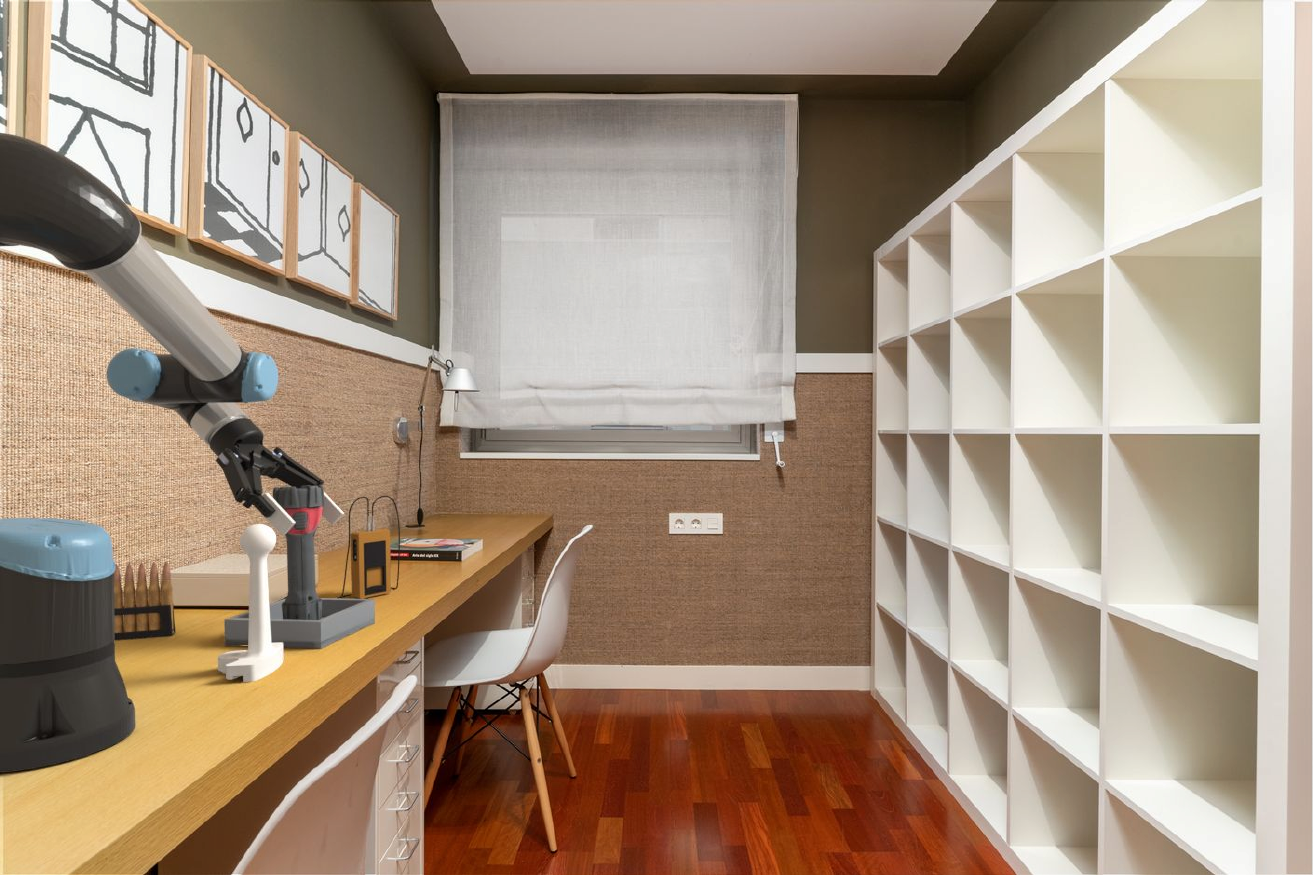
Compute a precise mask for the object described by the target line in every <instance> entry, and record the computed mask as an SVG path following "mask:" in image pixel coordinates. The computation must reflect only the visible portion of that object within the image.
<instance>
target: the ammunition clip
mask: <svg viewBox="0 0 1313 875" xmlns="http://www.w3.org/2000/svg"><path fill="white" fill-rule="evenodd" d="M169 565H170V564H169V563H168V561H165V562H164V564H163V567H162V573H161V586H160V581H159V580H160V578H159V571H158V566H157V564H156V561H154V562H152V563H151V566H150V570H149V580H148V581H149V584H148V583H147V574H146V573H147V571H146V569H145V566H144V563H143V562H141V563H140V564H139V565H138V570H137V575H136V576H137V578H136V588H135V581H134V579H135V577H134V571H133V567H132V565H131V563H127V565H126V568H125V572H124V585H123V586H124V587H122V578H121V577H122V576H121V571H120V568H119V566H118V564H117V563H115V571H114V635H115V639H114V642H116V641H126V640H127V641H128V640H129V641H130V640H140V639H155V638H166V637H173V635H175V634H176V632H177V631H176V619H175V607H174V601H173V600H174V599H173V598H174V596H173V590H174V589H173V585H172V578H171V574H172V573H171V567H170V566H169Z"/></svg>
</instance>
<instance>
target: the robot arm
mask: <svg viewBox="0 0 1313 875" xmlns="http://www.w3.org/2000/svg"><path fill="white" fill-rule="evenodd" d="M16 246H21V247H22V246H23V247H28V248H32V249H37V250H40V251H42V252H46V253H47V254H50V255H52V256H53V257H54V258H55V259H56V260H57V261H59V263H60V264H61V265H63V266H64V267H66V268H67V269H69V270H71V271H75V272H80V273H85V275H87V276H88V277H89V279H91V280H92V281H93V282H94V283H96V285H97V286H98V287H99V288H100V289H101V290H103V291H104V292H105V293H106V294H107V295H108V296H109V297H110V298H111V299H112V300H113V301H115V303H116V304H118V306H120V307H121V308H122V309H123V310H124V311H125V312H126V313H127V314H128V315H129V316H130V317H131V318H132V319H133V320H134V321H135V322H137V323H138V324H139V325H140V327H142V328H143V330H145V331H146V332H147V333H148V334H149V335H150V336H152V338H153V339H155V341H156V342H158V343H159V344H160V345H161V346H162V348H164V349H165V350H166V351H167V352H168V353H154V352H152V351H150V350H149V349H140V348H135V347H133V348H132V347H131V348H126V349H123V350H121V351H119V352H117V353H116V354H115V355H114V356H113V357H112V358H111V360H110V361H109V362H108V364H107V368H106V381H107V383H108V386H109V388H110V389H111V390H112V391H113V392H114V393H115V394H117V395H118V396H121V397H124V398H126V399H127V400H130V401H132V402H140V403H144V404H148V405H152V406H155V407H159V408H163V409H166V410H167V409H168V410H172V411H173V412H176V413H177V414H178V415H179V417H180V418H182V420H183V421H184V422H186V424H187V425H188V426H189V427H190V428H191V429H192V430H193V431H194V432H195V433H196V434H197V435H198V438H199V439H200V440H201V441H203V443H205V444H206V445H208V446H209V448H210V450H211V451H212V452H213V453H214V454H215V455H216V457H217V458H216V459H215V462H216V463H217V464H218V466H219V467H220V468H221V470H222V471H223V475H224V477H225V478H226V481H227V484H228V486H229V488H230V490H231V493H232V495H233V498H234V500H235V501H236V502H237V503H238V504H242V506H243V507H244V508H246V509H250V508H251V507H252V506H254V508H255V509H257V511H258V512H259V513H260V514H261V515H262V517H264V518H265V520H266V521H268V522H269V524H270V525H271V526H272V527H273V528H274V530H276V531H277V532H278V533H279V534H280V535H281V537H283V536H285V534H286V533H287V532H288V531H289V530H290V529H291V528H292V527H293V526H294V524H295V523H296V522H295V521H294V520H293V519H292V518H291V517H290V516H289V515H288V514H287V512H286V511H285V510H284V509H283V508H282V507H281V506H280V505H279V504H278V503H277V502H276V501H275V500H274V499H273V495H271V494H270V493H269V492H264V491H263V485H262V477H261V476H264V477H268V478H270V479H271V480H273V479H277V480H279V481H281V482H282V483H284V484H286V485H288V486H289V487H296V488H301V486H305V485H310V486H317V485H322V486H323V485H324V484H325V481H324V480H323V479H322V478H320V477H319V476H317V475H316V474H315V473H314V472H312V471H311V470H309V469H308V468H307V467H305V466H303V465H302V464H301V463H299V462H298V461H297V460H295V459H294V458H292V457H291V456H289V455H288V454H287V453H286V452H285V451H284V450H283V449H282V448H281V447H279V446H275V447H274V449H273V450H270V449H268V448H267V447H266V446H264V437H265V436H264V433H263V431H262V430H261V429H260V428H259V427H258V426H257V425H256V424H255V422H253V420H252V419H250V418H248V415H247V414H246V412H244V411H243V409H241V408H240V407H239V405H237V403H238V404H239V403H243V404H248V403H259V402H266V401H268V400H271V399H272V398H273V397H274V396H275V394H276V391H277V388H278V384H279V372H278V371H279V370H278V366H277V365H276V362H275V361H274V359H273V357H271V356H270V355H269V354H267V353H264V352H255V351H250V352H245V350H244V349H243V348H242V347H241V346H240V345H239V344H238V342H237V341H235V339H234V338H233V337H232V336H231V335H230V334H229V333H228V331H227V330H226V329H225V328H224V327H223V325H221V323H219V321H218V320H217V319H216V318H215V317H214V315H213V314H212V313H211V312H210V311H209V310H208V309H207V307H206V306H205V305H204V304H203V302H201V301H200V300H199V299H198V298H197V296H195V294H194V293H193V292H192V291H191V290H190V288H189V287H188V286H187V285H186V284H185V283H184V282H183V281H182V279H180V277H179V276H178V275H177V274H176V273H175V272H174V270H172V268H171V267H170V266H169V265H168V264H167V263H166V261H164V259H163V258H162V257H161V256H160V255H159V254H158V253H157V252H156V250H155V249H154V247H152V245H151V244H149V243H148V241H147V240H146V239H145V238H144V237H143V236H142V224H141V222H140V219H139V218H138V217H137V215H136V214H135V213H134V212H133V210H131V209H130V207H129V206H128V205H127V204H126V202H124V200H122V198H120V196H119V195H118V194H116V193H115V191H113V190H112V189H111V188H110V187H109V186H107V185H106V184H105V183H104V182H102V181H101V179H99V178H97V177H96V176H95V175H94V174H92V173H91V172H90V171H88V170H87V169H86V168H84V167H83V166H81V165H80V164H78V163H76V162H75V161H73V160H72V159H70V158H68V157H67V156H66V155H64V154H62V153H60V152H57V151H56V150H53V149H52V148H51V147H49V146H47V145H44V144H42V143H41V142H40V143H39V142H37V141H34V140H32V139H29V138H25V137H23V136H20V135H19V136H18V135H16V134H11V133H6V132H5V133H3V132H0V247H16ZM324 501H325V505H324V506H322V515H321V516H322V517H323V518H324V519H326V522H328V523H329V524H330V525H331V526H334V525H335V524H336V523H337V522H338V521H339V520H340V519H341V518H342V517H343V515H345V512H344V511H343V510H342V509H341V508H340V507H339V506H338V505H337V504H336V503H335V501H333V499H331V497H329V495H328V494H327V493H326V492H325V491H324ZM112 544H113V543H112V538H111V535H110V534H109V533H108V531H107V530H106V529H105V528H103V527H102V526H101V525H98V524H95V523H92V522H87V521H84V520H83V521H82V520H77V519H76V520H75V519H66V518H53V517H52V518H49V517H44V518H37V517H36V518H35V517H12V518H11V517H10V518H0V773H8V772H10V773H11V772H18V771H24V770H25V771H26V770H32V769H36V768H43V767H47V766H52V765H56V764H61V763H65V762H68V761H71V760H76V759H80V758H83V757H85V756H88V755H89V756H90V755H92V754H94V753H97V752H100V751H102V750H104V749H105V750H106V749H107V748H110V747H111V746H114V745H116V744H118V743H119V742H121V741H123V740H125V739H126V738H127V737H129V736H130V735H131V734H133V732H134V730H135V729H136V708H135V704H134V702H133V700H132V699H131V698H129V697H128V693H127V688H126V685H125V682H124V680H123V676H122V674H121V672H120V669H119V666H118V664H117V661H116V654H115V648H116V647H115V641H114V639H115V635H114V571H115V564H116V562H115V560H114V557H113V556H114V555H113V554H114V553H113V546H112Z"/></svg>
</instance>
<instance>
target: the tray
mask: <svg viewBox="0 0 1313 875" xmlns="http://www.w3.org/2000/svg"><path fill="white" fill-rule="evenodd" d="M319 598H320V599H321V600H322V619H320V620H290V619H283V613H282V604H283V602H285V599H286V598H284V599H280V600H277V601H273V602H271V603H269V607H270V626H271V643H277V642H282V643H283V648H289V649H290V648H293V649H296V648H297V649H298V648H299V649H319V650H320V649H324V648H325V647H327V646H329V645H331V644H334V643H336V642H337V641H340V640H342V639H344V638H346V637H348V636H350V635H353V634H355V633H356V632H358V631H360V630H363V629H365V628H367V627H369V626H372V625H373V624H375V623H376V611H375V610H376V605H375V604H376V602H375V601H376V600H375V599H374V598H371V599H370V598H365V599H356V598H342V599H341V598H339V599H338V597H336V598H334V597H333V598H332V597H331V598H328V597H324V598H323V597H319ZM223 622H224V624H223V625H224V646H225V645H248V631H249V610H248V611H245V612H243V613H239V614H237V615H234V616H231V617H227V618H224V620H223Z"/></svg>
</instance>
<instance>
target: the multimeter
mask: <svg viewBox="0 0 1313 875" xmlns="http://www.w3.org/2000/svg"><path fill="white" fill-rule="evenodd" d="M382 498H389V499H390V500H391V501H392V504H393V505H394V508H395V511H396V518H397V529H398V552H397V556H398V558H397V576H396V578H397V579H396V587H394V586H393V587H392V586H391V582H392V581H391V580H392V579H391V578H392V577H391V574H392V573H391V572H392V571H391V570H392V569H391V568H392V556H391V530H390V529H389V528H375V522H374V520H375V519H374V505H375V503H376V502H377V501H378V500H379V499H382ZM361 499H366V503H367V504H366V511H367V512H366V514H367V516H366V530H361V531H353V532H352V531H351V511H352V510H353V509H352V508H353V507H354V504H355V503H356V501H358V500H361ZM369 503H370V502H369V498H368V497H367V496H360V497H357V498H356V499H355V500H354V501H353V502H352V503H351V505H350V508H349V512H348V546H347V547H348V548H347V552H346V560H345V568H344V569H345V570H344V578H343V586H342V591H341V596H338V597H337V598H338V599H344V598H345V597H351V598H352V599H369V598H373V597H377V596H382V595H384V596H386V595H390V593H391V591H392V590H397V589H398V587H399V579H400V578H399V577H400V576H399V575H400V559H401V557H400V556H401V554H400V553H401V552H400V551H401V550H400V549H401V530H400V529H401V528H400V526H401V525H400V518H399V512H398V508H397V505H396V503H395V500H394V498H392V497H391V496H389V495H381V496H379V497H377V498H376V499H375V500H374V501H373V503H372V504H371V523H370V514H369V511H370V510H369V508H370V506H369V505H370V504H369ZM349 553H350V554H349ZM349 555H350V568H351V570H350V571H351V572H350V573H351V579H350V580H351V594H346V595H344V593H345V585H346V580H347V570H348V564H349V562H348V561H349Z"/></svg>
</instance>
